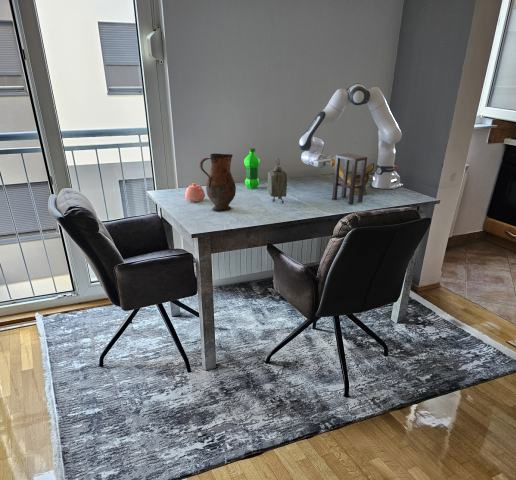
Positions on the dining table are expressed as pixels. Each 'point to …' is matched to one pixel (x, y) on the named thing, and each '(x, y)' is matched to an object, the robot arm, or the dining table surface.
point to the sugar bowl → (194, 193)
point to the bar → (340, 171)
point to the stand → (353, 177)
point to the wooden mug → (365, 179)
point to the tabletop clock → (277, 183)
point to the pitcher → (220, 181)
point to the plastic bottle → (252, 169)
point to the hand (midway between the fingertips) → (334, 163)
